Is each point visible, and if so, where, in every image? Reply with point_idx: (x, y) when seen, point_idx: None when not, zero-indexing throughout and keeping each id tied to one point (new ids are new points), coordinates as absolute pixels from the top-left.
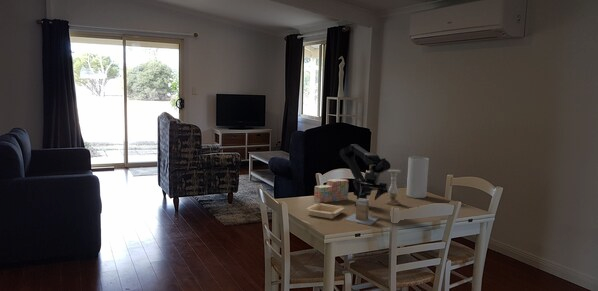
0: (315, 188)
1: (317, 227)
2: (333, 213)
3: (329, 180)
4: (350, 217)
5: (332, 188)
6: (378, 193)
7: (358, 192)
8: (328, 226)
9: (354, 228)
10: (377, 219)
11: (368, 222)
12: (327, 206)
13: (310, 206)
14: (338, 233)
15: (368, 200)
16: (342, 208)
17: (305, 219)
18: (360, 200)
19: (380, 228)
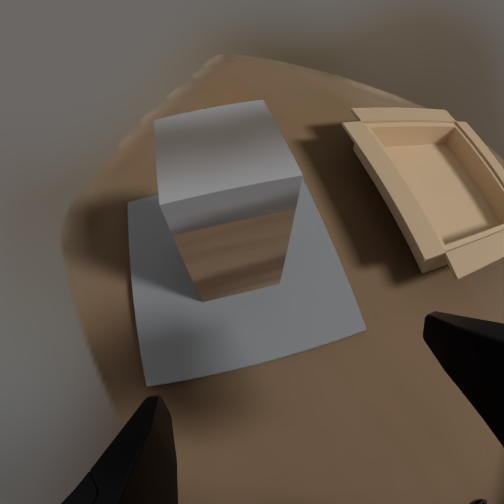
0: None
1: (296, 70)
2: (353, 122)
3: None
4: (306, 222)
5: None
6: (82, 481)
7: (492, 328)
8: (279, 88)
9: None
10: (141, 345)
11: (150, 216)
12: (496, 227)
13: (494, 158)
14: (199, 70)
15: (160, 192)
16: (421, 234)
17: (402, 105)
18: (220, 108)
19: (73, 202)
